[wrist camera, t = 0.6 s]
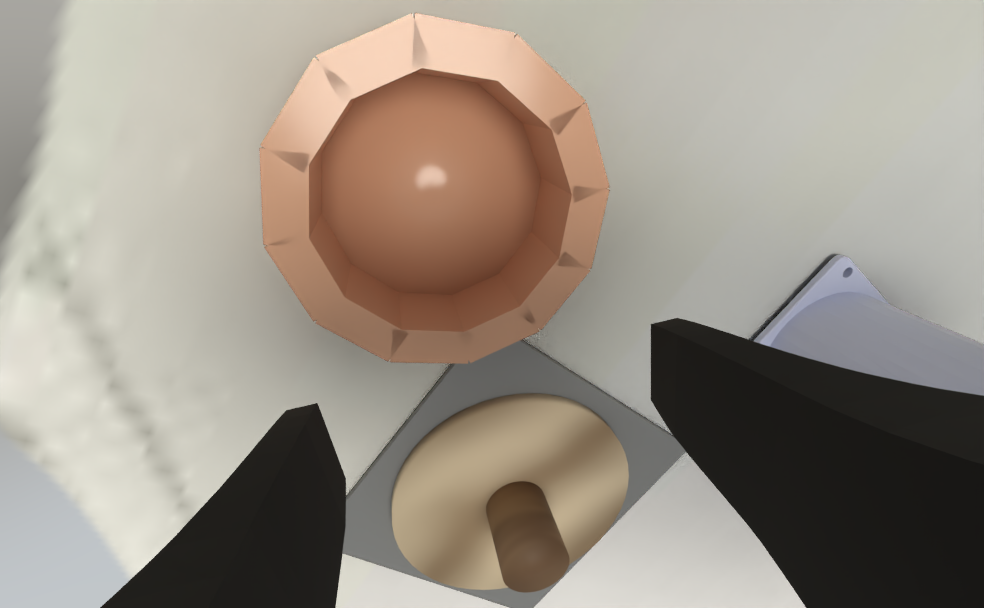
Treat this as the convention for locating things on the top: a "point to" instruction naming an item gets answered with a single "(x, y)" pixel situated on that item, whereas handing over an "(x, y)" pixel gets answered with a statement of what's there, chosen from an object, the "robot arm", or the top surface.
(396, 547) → the mat
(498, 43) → the bowl
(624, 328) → the top surface
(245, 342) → the top surface
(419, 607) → the top surface
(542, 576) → the lid
